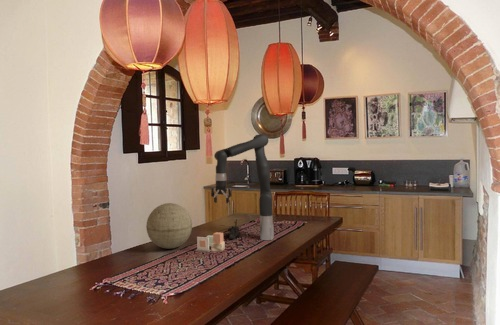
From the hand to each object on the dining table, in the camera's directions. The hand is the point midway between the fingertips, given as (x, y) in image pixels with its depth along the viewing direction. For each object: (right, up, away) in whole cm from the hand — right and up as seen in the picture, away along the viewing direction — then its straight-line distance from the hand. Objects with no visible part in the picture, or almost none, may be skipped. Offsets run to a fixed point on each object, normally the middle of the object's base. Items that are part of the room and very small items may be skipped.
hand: (221, 203), depth 280 cm
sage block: (-7, -29, -2) cm, 29 cm away
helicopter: (+8, -27, +24) cm, 37 cm away
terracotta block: (-1, -24, -15) cm, 28 cm away
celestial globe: (-34, -29, -9) cm, 46 cm away
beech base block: (-1, -29, -15) cm, 33 cm away
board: (-11, -29, -18) cm, 36 cm away
